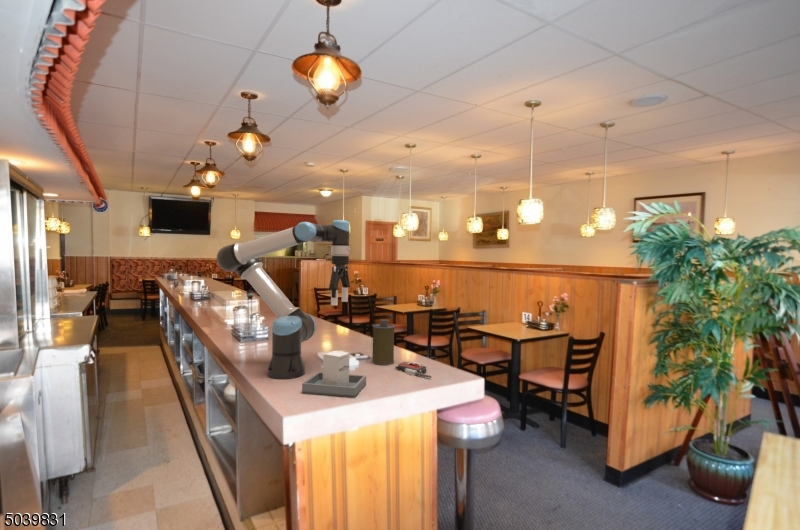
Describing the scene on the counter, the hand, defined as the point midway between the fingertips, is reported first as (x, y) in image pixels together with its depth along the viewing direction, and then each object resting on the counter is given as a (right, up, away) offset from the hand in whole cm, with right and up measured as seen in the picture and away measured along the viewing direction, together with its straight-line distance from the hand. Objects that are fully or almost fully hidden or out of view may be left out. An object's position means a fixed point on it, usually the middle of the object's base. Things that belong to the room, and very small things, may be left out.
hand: (339, 303), depth 181 cm
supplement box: (+2, -29, -26) cm, 39 cm away
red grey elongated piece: (+34, -30, -4) cm, 46 cm away
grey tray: (+2, -30, -27) cm, 40 cm away
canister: (+18, -29, +12) cm, 36 cm away
